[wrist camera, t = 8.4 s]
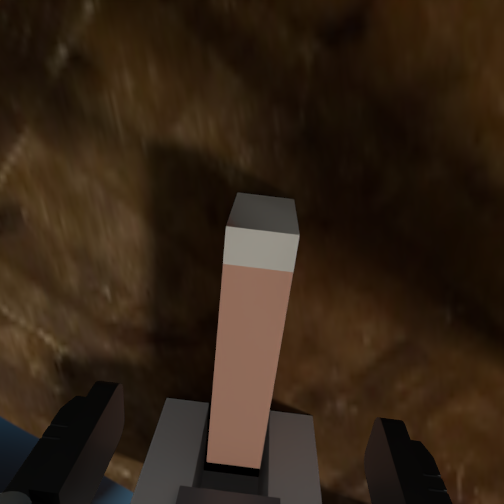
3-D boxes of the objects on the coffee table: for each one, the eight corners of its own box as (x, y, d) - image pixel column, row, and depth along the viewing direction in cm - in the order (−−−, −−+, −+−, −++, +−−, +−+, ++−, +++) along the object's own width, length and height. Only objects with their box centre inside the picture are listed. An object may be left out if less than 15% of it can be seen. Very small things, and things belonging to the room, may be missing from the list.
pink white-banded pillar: (294, 199, 24) (299, 234, 18) (262, 399, 30) (259, 468, 25) (237, 192, 24) (226, 226, 18) (218, 393, 30) (206, 462, 25)
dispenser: (313, 410, 31) (329, 547, 22) (295, 487, 35) (302, 631, 26) (166, 392, 31) (121, 521, 22) (165, 471, 35) (126, 608, 26)
